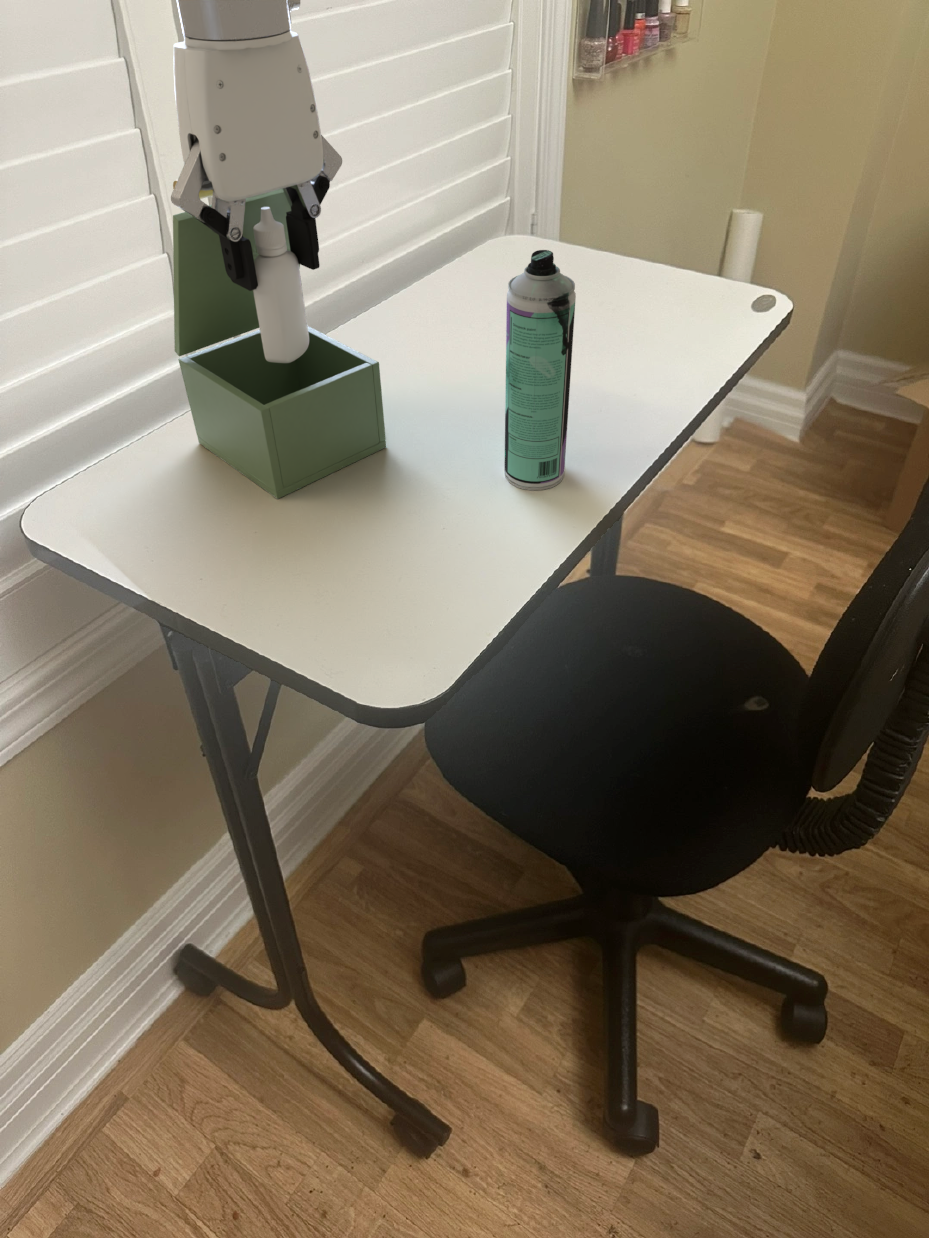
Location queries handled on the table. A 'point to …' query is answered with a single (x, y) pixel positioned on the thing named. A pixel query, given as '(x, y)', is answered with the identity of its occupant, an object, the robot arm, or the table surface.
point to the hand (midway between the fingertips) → (275, 273)
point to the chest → (285, 409)
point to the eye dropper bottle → (278, 293)
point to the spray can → (538, 373)
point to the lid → (214, 277)
